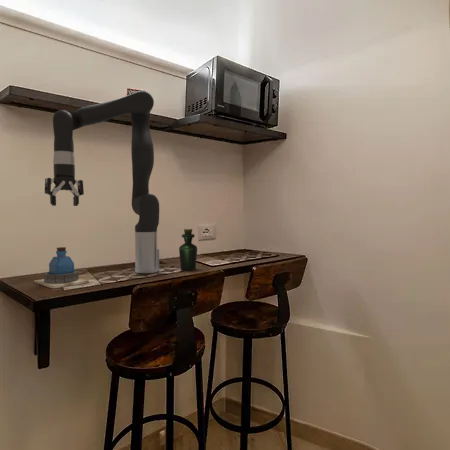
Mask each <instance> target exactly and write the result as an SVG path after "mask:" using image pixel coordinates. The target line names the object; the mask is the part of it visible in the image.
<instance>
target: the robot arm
mask: <svg viewBox="0 0 450 450" xmlns="http://www.w3.org/2000/svg"><path fill="white" fill-rule="evenodd" d="M154 101H155V100H154V97H153V95H152V94H151V93H149V92H148V91H146V90H138V91H135V92H132V93H131V94H129V95H126V96H122V97H120V98H116V99H113V100H109V101H105V102H104V101H103V102H101V103H96V104H91V105H87V106H83V107H80V108H78V109H77V110H75V111H71V112H69V111H67V110H65V109H59V110H57V111H56V112H54V114H53V115H52V116H53V117H52V125H53V126H52V127H53V137H54V138H53V158H52V159H53V161H52V163H53V178H51V177H46V178H44V194H45V195H49V199H50V202H49V203H50V205H51V207H52V206H54V207H55V206H57V193H58V192H59V191H69V193H72V195H73V197H72V199H73V203H72V204H73V207H78V206H79V204H80V196H83V195H84V194H85V191H84V180H82V179H76V178H75V177H76V168H75V167H76V165H75V164H76V162H75V153H74V151H75V148H74V147H75V145H74V139H73V137H74V136H73V135H74V134H73V133H74V132H73V131H75V130H78V129H81V128H83V127H86V126H92V125H95V124H100V123H103V122H106V121H109V120H111V119H114V118H117V117H119V116H122V115H126V114H130V121H131V141H130V143H131V147H130V149H131V150H130V151H131V152H130V153H131V166H132V167H131V170H132V171H131V172H132V192H131V208H132V211H133V212H134V213H135V214H136V215H138V222H137V223H136V224H135V225H134V245H135V246H134V249H135V251H134V256H135V257H134V258H135V259H134V262H135V265H134V266H135V268H134V271H135V273H136V274H152V273H157V272H160V248H158V226H159V224H160V202H159V199H158V197H157V196H156V195H155V194H153V193H150V190H149V188H150V187H149V184H150V179H151V175H152V172H153V168H154V163H155V150H154V149H155V148H154V143H153V139H152V135H151V130H150V118H151V117H150V116H151V112H152V111H153V107H154V103H155V102H154ZM52 184H54V186H53V188H52ZM75 185H76V186H77V187H76V186H75Z"/></svg>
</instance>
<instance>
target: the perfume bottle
mask: <svg viewBox="0 0 450 450" xmlns="http://www.w3.org/2000/svg"><path fill="white" fill-rule="evenodd" d="M66 249H67V247H66V246H64V247H62V246H60V247H58V246H57V247H56V251H55V254H56V256H53V257H52V259H51V260H50V262H49V263H48V268H49V269H48V272H49V274H52V275H60V274H69V273H74V270H75V263H74V261H73V260H72V258H71V257H70V256H67V250H66Z"/></svg>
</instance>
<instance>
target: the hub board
mask: <svg viewBox="0 0 450 450" xmlns="http://www.w3.org/2000/svg"><path fill="white" fill-rule="evenodd" d="M79 276H80V275H79V270H75V269H74V273H69V274H60V275H52V274H49V271H46V272H44V273H43V278H42V279H37V280H36V279H35V280H34V281H33V283H35V284H37V285H41V286H44V287H46V288H50V289H58V288H63V287H64V288H65V287H72V286H75V285H76V286H77V285H82V284H83V285H84V284H89V282H90V280H88V279H86V278H85V279H84V278H81V277H79Z"/></svg>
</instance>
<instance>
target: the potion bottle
mask: <svg viewBox="0 0 450 450" xmlns="http://www.w3.org/2000/svg"><path fill="white" fill-rule="evenodd" d="M183 232H184V233H182V234H181V238H183V240H184V243H183V244H181V245H180V246H179V247H178V253H179V262H180V270H182V271H186V272H187V271H189V270H190V271H195V270H196V269H197V268H196V267H197V260H198V259H197V255H198V247H197V245H196V244H194V243H192V242H193V238H195V234H194V233H193V228H184V229H183Z"/></svg>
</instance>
